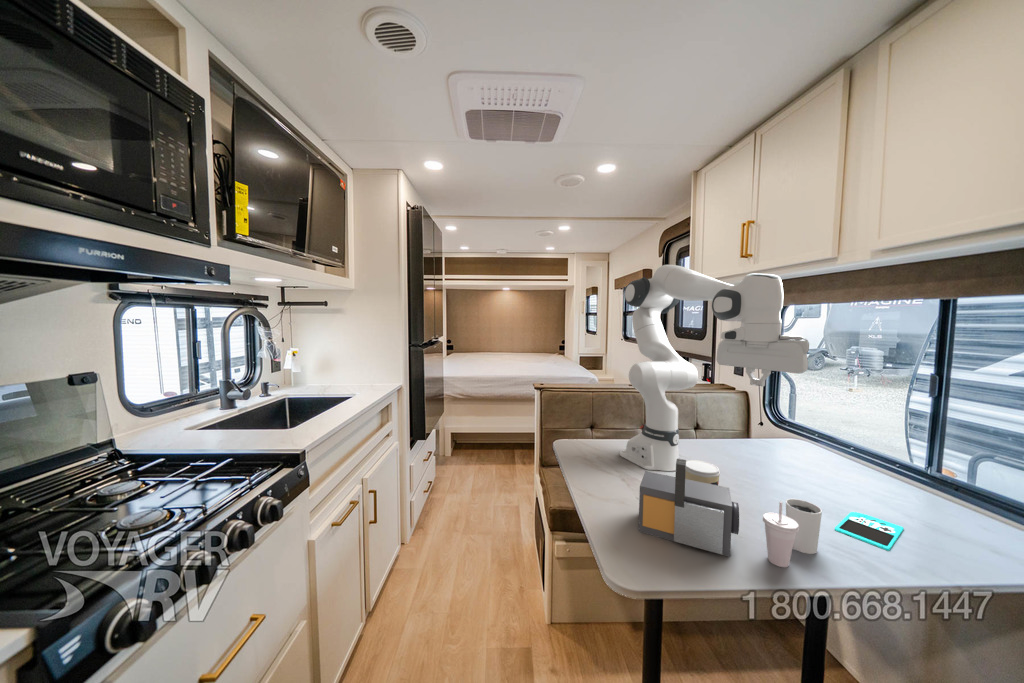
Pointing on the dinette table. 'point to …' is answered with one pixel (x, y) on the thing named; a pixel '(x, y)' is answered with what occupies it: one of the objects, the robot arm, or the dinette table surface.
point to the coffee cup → (702, 472)
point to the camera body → (661, 501)
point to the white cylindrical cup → (805, 524)
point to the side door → (696, 518)
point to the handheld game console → (870, 530)
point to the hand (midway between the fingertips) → (757, 385)
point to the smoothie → (779, 537)
